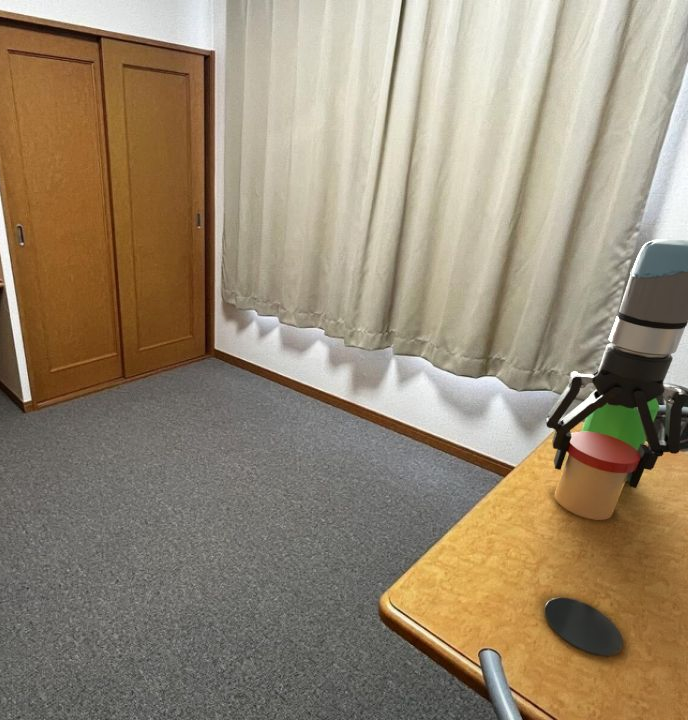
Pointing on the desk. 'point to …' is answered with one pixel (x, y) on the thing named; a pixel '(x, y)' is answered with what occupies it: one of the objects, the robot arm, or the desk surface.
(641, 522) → the desk surface
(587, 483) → the jam jar
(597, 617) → the coaster
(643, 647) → the desk surface
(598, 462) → the lid
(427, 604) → the desk surface
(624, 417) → the bottle
